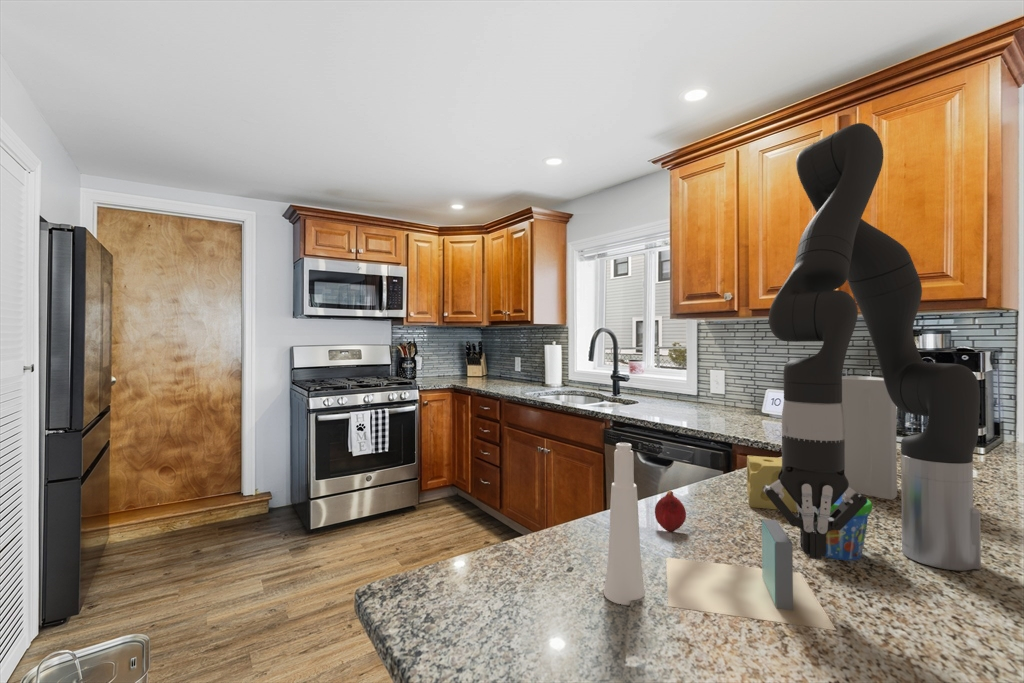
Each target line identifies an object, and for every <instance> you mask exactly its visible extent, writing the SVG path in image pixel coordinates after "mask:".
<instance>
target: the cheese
mask: <svg viewBox="0 0 1024 683" xmlns="http://www.w3.org/2000/svg"><path fill="white" fill-rule="evenodd" d="M781 469H782V457H774V456H773V457H772V456H770V457H769V456H760V455H759V456H757V455H747V456H746V472H747V473H746V475H747V476H746V487H747V488H746V492H747V493H746V494H747V498H748V504H749V506H748V507H749V508H754V509H764V510H765V509H766V510H767V509H768V510H774V511H776V510H777V511H779V510H778V509H777V507H776V506H775V505H774V504H773V502H772V501H771V500H770V499H769V498H768V496H767V495H766V494H765V492H764V491H763V486H764V485H771V484H772V483H774V482H775V481H777V480H778V475H779V473H780V471H781ZM782 491H783V493H784V497H783V498H782V499H781V500H782V501H783V502H784V503H785V505H786V506H787V507H788V508H789V510H790V511H791V512H792V513H798V510H797V506H796V502H795V501H794V500H793V499H792V498H791V496H790V495H789V494H788V492H787V491H786V490H785V488H784V487H783V489H782Z"/></svg>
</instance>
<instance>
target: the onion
mask: <svg viewBox="0 0 1024 683" xmlns="http://www.w3.org/2000/svg"><path fill="white" fill-rule="evenodd" d="M685 508H686V507H685V506H684V504H683V503H682V501H681V500H680V499H679V498H678V497H676V496H674V491H672V490H668V491H667V493H666V494H665V496H663V497H661V498H660V499H659V500H658V501H657V503H656V504H655V507H654V516H655V519H656V522H657V523H658V524H659V525H660V527H661V528H663V530H665V531H666V532H668V531H669V532H668V533H673V532H675V531H677V530H678V529H680V528H681V527H682V526H683V525H684V523H685V522H686V518H687V512H686V509H685Z"/></svg>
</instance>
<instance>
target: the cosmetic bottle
mask: <svg viewBox="0 0 1024 683" xmlns="http://www.w3.org/2000/svg"><path fill="white" fill-rule="evenodd" d="M632 446H633V445H632V444H631V443H629V442H618V443H615V448H616V449H615V450H614V452H613V456H614V457H613V458H614V461H613V462H614V464H613V467H614V473H613V475H614V476H613V477H614V479H613V480H614V482H612V483H611V490H610V504H609V505H610V506H609V507H610V508H609V527H608V528H609V530H608V531H609V532H608V534H609V536H608V549H607V550H608V552H607V562H606V563H607V565H606V571H605V572H606V573H605V581H604V586H603V594H604V596H605V598H606V599H607V600H609V601H610V602H612V603H613V604H617V605H620V604H621V606H631V602H632V601H637V600H640V599H642V598H644V597H645V595H646V589H645V583H644V576H643V567H642V554H641V539H640V522H639V521H640V520H639V519H640V518H639V516H640V515H639V502H638V501H639V500H638V486H637V484H636V483H635V477H634V474H635V473H634V470H635V469H634V468H635V467H634V466H635V465H634V464H635V463H634V451H633V450H631V449H632Z"/></svg>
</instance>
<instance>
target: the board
mask: <svg viewBox="0 0 1024 683" xmlns="http://www.w3.org/2000/svg"><path fill="white" fill-rule="evenodd" d="M665 563H666V584H667V585H666V587H667V590H666V591H667V607H668V608H674V609H675V608H676V609H682V610H692V611H696V612H702V613H703V612H705V613H709V614H710V613H711V614H717V615H719V614H720V615H723V616H724V615H725V616H733V617H737V618H738V617H740V618H745V619H746V618H747V619H752V620H753V619H754V620H757V621H758V620H759V621H767V622H772V623H773V622H774V623H781V624H788V625H795V626H803V627H808V628H809V627H810V628H817V629H822V630H830V631H836V632H837V628H836V627H835V626H834V624H833V622H832V621H831V619H830V617H829V616H828V614H827V613H826V611H825V610H824V608H823V606H822V605H821V603H820V602H819V600H818V598H817V597H816V595H815V593H814V592H813V590H812V589H811V587H810V586H809V584H808V583H807V581H806V580H805V578H804V576H803V574H802V573H801V572H796V571H795V572H794V571H793V611H791V610H784V609H777V608H776V606H775V604H774V602H773V600H772V598H771V595H770V593H769V591H768V589H767V587H766V584H765V582H764V580H763V577H762V567H761V568H760V567H751V566H744V565H743V566H742V565H737V564H736V565H734V564H725V563H718V562H708V561H700V560H692V559H684V558H675V557H673V558H672V557H667V556H666V557H665Z"/></svg>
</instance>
